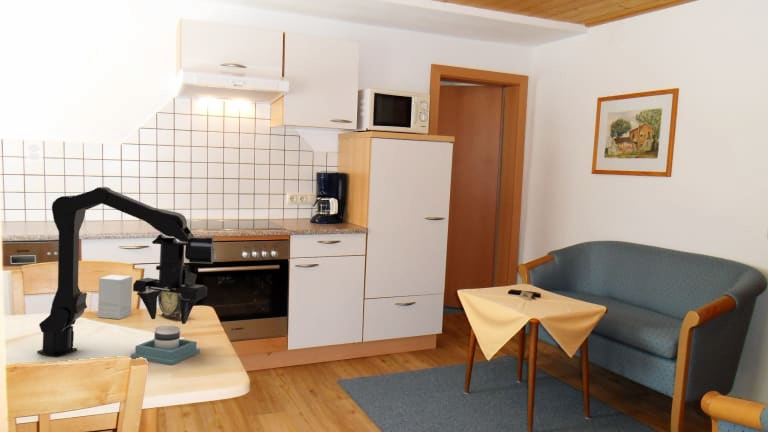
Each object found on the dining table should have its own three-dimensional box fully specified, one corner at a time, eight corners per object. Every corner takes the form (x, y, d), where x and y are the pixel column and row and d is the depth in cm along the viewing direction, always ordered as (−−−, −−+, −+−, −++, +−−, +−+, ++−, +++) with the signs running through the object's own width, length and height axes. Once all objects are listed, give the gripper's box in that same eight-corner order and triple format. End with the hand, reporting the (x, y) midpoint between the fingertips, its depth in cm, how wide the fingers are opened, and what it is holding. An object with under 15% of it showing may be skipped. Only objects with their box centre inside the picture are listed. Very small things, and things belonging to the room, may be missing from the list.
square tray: (171, 365, 143) (172, 353, 143) (130, 357, 147) (131, 346, 146) (199, 352, 155) (200, 341, 155) (161, 345, 158) (162, 335, 158)
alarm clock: (156, 315, 189) (158, 266, 188) (170, 313, 194) (173, 265, 193) (175, 322, 183) (178, 271, 182) (190, 319, 187) (193, 270, 186)
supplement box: (131, 314, 188) (133, 276, 188) (119, 319, 181) (121, 279, 180) (110, 312, 189) (111, 274, 188) (96, 317, 182) (98, 277, 181)
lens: (169, 356, 147) (170, 333, 146) (148, 352, 149) (149, 329, 148) (183, 350, 153) (185, 327, 152) (163, 346, 155) (165, 324, 154)
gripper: (220, 262, 154) (217, 319, 155) (161, 254, 160) (158, 310, 160) (196, 267, 144) (192, 329, 145) (132, 259, 149) (130, 319, 150)
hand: (168, 321), depth 150 cm, fingers open, 9 cm apart
